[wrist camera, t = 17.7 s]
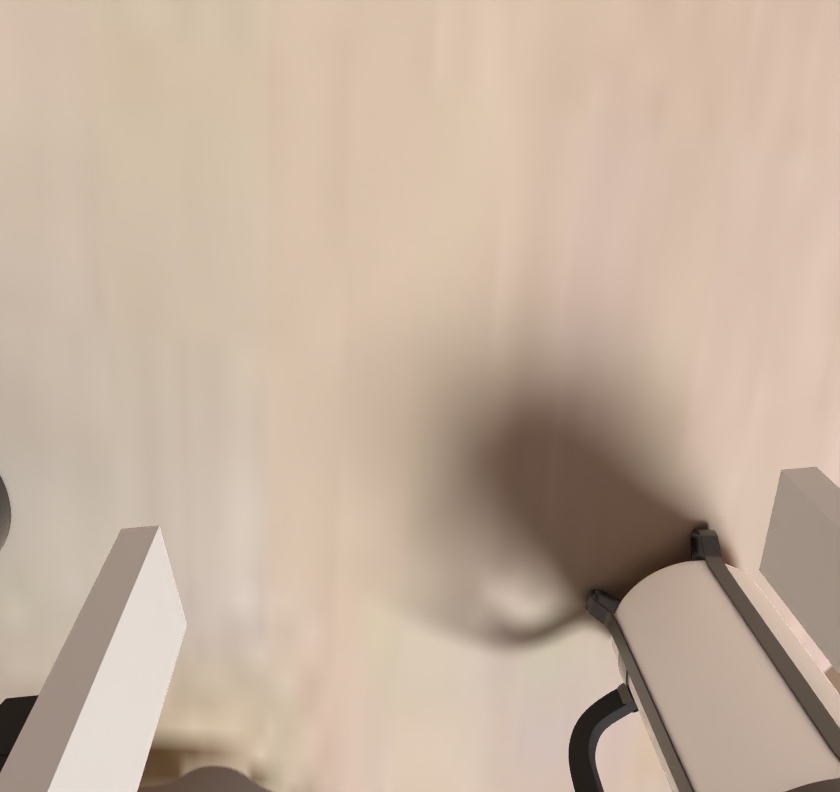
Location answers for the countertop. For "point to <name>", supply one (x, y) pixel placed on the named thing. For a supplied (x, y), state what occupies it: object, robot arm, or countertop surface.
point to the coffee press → (713, 684)
